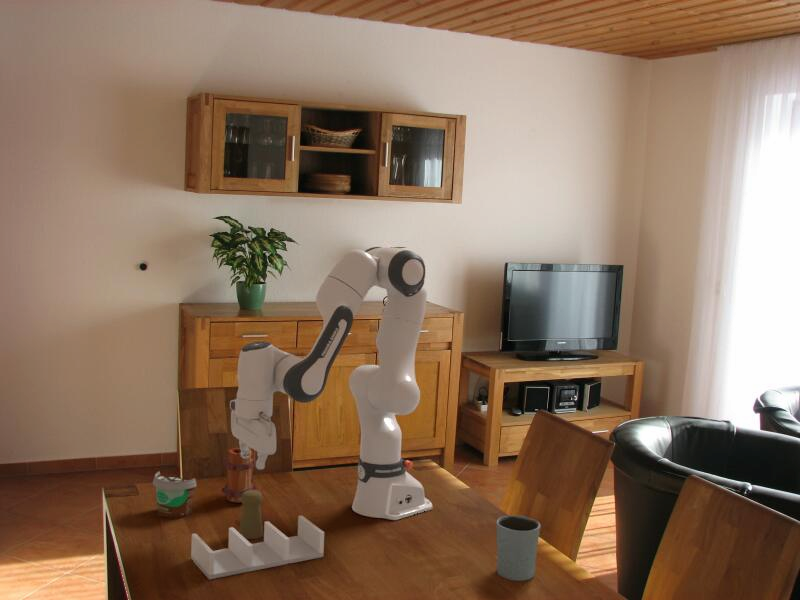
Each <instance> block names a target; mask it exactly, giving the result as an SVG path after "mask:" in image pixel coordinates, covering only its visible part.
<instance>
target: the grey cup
mask: <svg viewBox="0 0 800 600" xmlns="http://www.w3.org/2000/svg"><path fill="white" fill-rule="evenodd" d="M540 530H541V523H540V522H539V521H538V520H536V519H533V518H531V517H527V516H522V515H505V516H501V517H499V518H497V520H496V542H497V543H496V545H497V548H496V551H497V553H496V555H497V562H496V573H497V574H498V575H499V576H500V577H502V578H504V579H507V580H510V581H516V582H517V581H519V582H521V581H524V582H525V581H529V580H531V579H532V578H533V577H534V575H535V573H536V572H535V571H536V559H537V553H538V552H537V551H538V546H539V545H538V543H539V537H540Z"/></svg>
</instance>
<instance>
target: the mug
mask: <svg viewBox="0 0 800 600" xmlns="http://www.w3.org/2000/svg"><path fill="white" fill-rule="evenodd" d="M248 449H249V451H250V454H249V455H250V457H249V458H246V459H244V458H242V457H241V449H240V447H233V448H231V449H228V450H227V457H226V460H225V461H224V462H223V463H222V466H223V467H224V468H225V469H226V484H225V485H224V486H223V487H222V488H221V492H222V494H224V495H225V496H226V500H227V501H229V502H231V503H236V504H237V503H238V504H240V503H242V501H241V497H242V494H243V493H244V492H245V491H249V490H255V489H256V485H255V484H253V482H252V481H251V480H252V476H253V472H254V467H255V464H256V451H255V450H254V449H252V448H251V447H249V446H248Z"/></svg>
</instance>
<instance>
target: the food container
mask: <svg viewBox="0 0 800 600" xmlns="http://www.w3.org/2000/svg"><path fill="white" fill-rule="evenodd" d="M152 485H153V487H155V495H156V507H157V509H156V510H157V515H158V516H160V517H162V518H165V517H167V518H166V519H180V517H182V518H185V517H184V516H187V517H189V516H188V515H190V516H192V514H193V513H192V511H193V504H194V503H193V502H194V494H195V488H196V487H197V480H196V478H195V477H193V478H192V479H189V480H187V479H184V478H181V477H179V476H168V475H162V474H161V471H157V472H156V473H155V475H154V477H153V480H152Z"/></svg>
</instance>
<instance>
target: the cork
mask: <svg viewBox="0 0 800 600" xmlns="http://www.w3.org/2000/svg"><path fill="white" fill-rule="evenodd" d="M241 501H242V504H241V505H242V512H241V516H240V517H241V518H240V524H239V529H238V532H239V533H240V534H241V535H242V536H243V537H244V538H245V539H246V540H255V539H259V538H262V537H264V529H263V528H264V527H263V523H262V522H263V521H262V511H261V505H262V504H263V503H262V502H263V495H262V493H261V491H259V490H255V489H253V490H249V491H245V492H244V493H243V494H242V497H241Z"/></svg>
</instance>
